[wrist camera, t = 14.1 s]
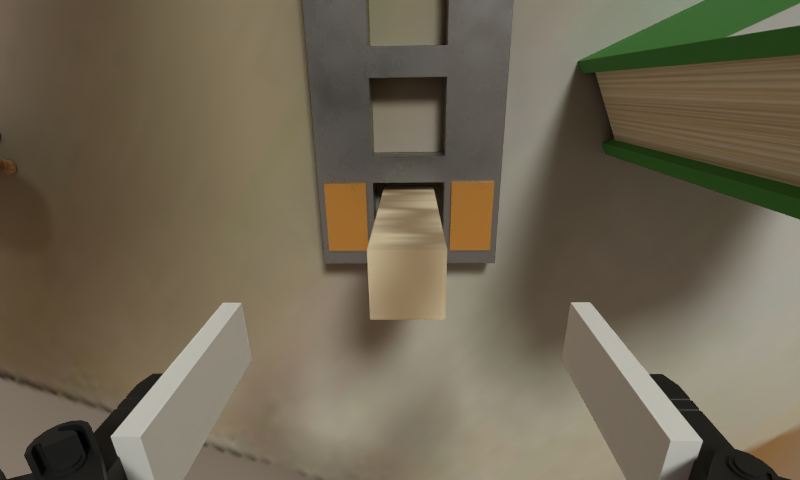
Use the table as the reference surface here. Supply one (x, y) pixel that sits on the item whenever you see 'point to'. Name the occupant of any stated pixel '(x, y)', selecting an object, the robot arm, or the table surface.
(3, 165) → the lion figurine
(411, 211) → the peg
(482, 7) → the slotted board
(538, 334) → the table surface
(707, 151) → the hardback book
